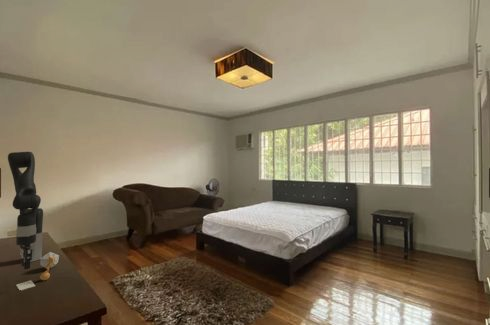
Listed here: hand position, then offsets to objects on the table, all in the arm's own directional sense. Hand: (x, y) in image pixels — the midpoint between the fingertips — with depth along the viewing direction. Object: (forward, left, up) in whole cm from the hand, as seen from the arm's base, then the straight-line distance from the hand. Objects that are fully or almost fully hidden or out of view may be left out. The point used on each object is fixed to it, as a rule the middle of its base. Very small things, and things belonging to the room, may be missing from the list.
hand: (25, 267), depth 121 cm
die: (-16, +13, -10) cm, 23 cm away
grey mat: (0, 0, -9) cm, 9 cm away
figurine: (0, +9, -10) cm, 13 cm away
